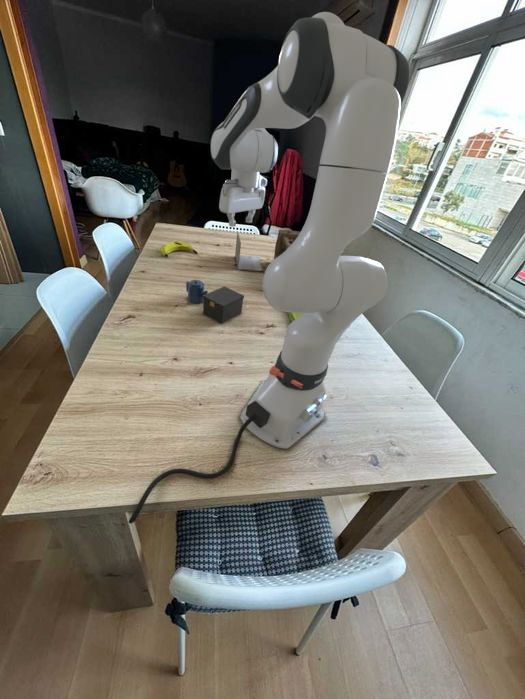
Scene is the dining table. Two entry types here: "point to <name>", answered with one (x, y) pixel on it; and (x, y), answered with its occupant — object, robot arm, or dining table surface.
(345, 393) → the dining table surface
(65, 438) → the dining table surface
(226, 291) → the black box
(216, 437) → the dining table surface
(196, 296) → the teapot
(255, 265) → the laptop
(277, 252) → the ornamental box
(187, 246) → the banana
